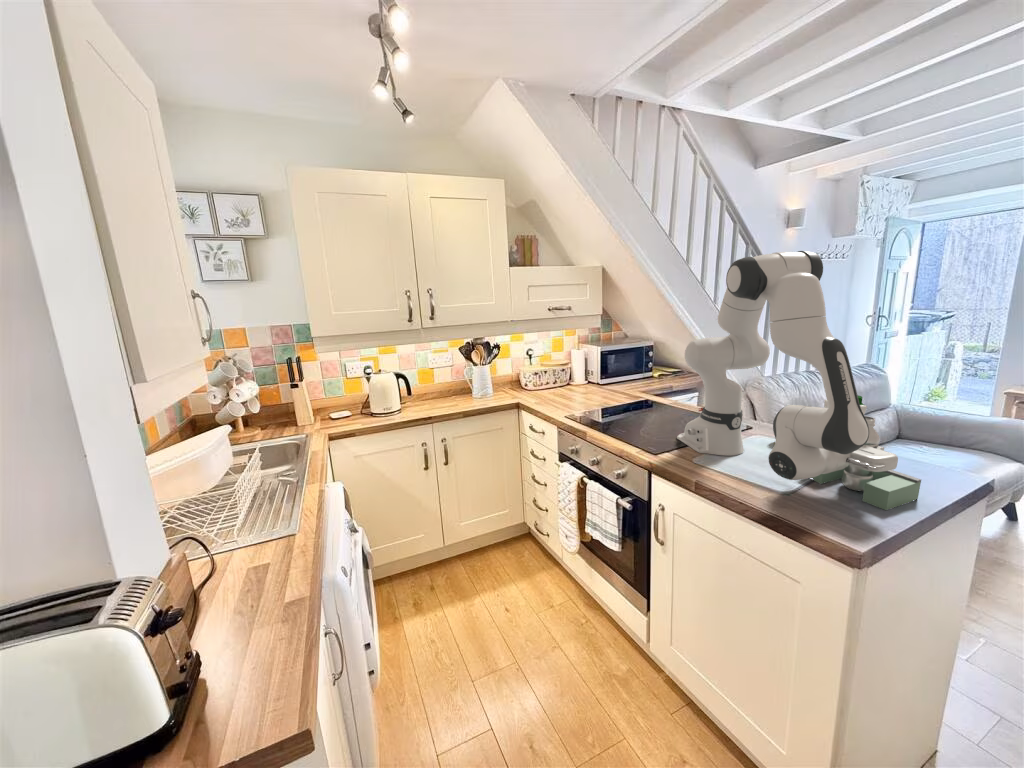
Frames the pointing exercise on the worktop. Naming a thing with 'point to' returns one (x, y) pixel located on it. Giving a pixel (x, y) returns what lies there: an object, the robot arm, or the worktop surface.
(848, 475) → the plastic bottle
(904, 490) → the green u-shaped bracket
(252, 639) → the worktop surface
